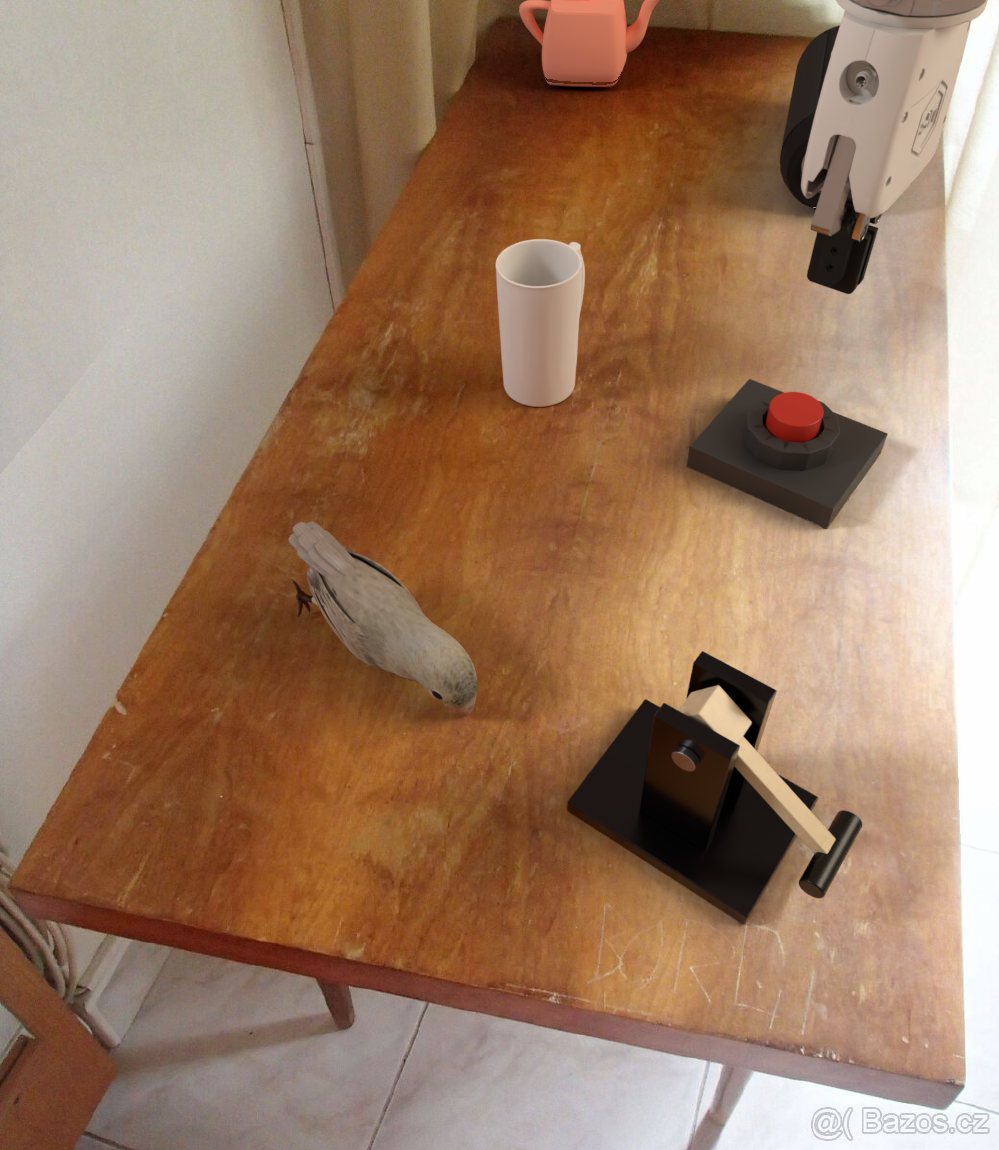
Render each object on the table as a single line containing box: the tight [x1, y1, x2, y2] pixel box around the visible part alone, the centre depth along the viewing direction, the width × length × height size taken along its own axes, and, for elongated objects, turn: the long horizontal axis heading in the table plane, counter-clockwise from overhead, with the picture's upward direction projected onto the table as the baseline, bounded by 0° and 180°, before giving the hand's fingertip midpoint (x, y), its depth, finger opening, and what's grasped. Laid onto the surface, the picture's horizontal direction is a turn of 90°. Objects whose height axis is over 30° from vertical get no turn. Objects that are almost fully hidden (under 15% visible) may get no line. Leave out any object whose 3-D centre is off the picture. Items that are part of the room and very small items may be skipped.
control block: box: [686, 378, 888, 530], centre depth 77 cm, size 12×10×4 cm
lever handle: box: [677, 685, 863, 899], centre depth 53 cm, size 12×5×2 cm
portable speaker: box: [779, 24, 840, 208], centre depth 105 cm, size 26×10×10 cm, turn 165°
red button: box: [766, 391, 824, 443], centre depth 75 cm, size 4×4×2 cm
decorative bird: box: [287, 521, 478, 717], centre depth 65 cm, size 5×16×8 cm, turn 47°
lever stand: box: [566, 650, 819, 926], centre depth 55 cm, size 12×9×12 cm
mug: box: [495, 238, 586, 408], centre depth 82 cm, size 10×7×12 cm, turn 144°
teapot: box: [518, 0, 661, 88], centre depth 121 cm, size 12×18×10 cm, turn 81°
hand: (833, 281), depth 64 cm, fingers closed
